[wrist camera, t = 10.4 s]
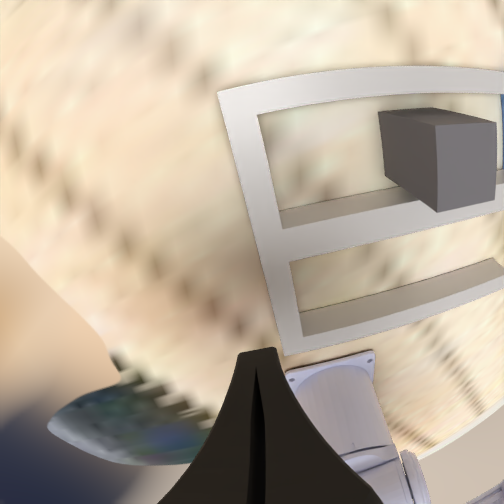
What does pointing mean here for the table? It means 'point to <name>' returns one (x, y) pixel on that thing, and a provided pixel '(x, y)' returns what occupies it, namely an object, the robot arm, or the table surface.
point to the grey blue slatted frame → (351, 207)
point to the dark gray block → (440, 156)
